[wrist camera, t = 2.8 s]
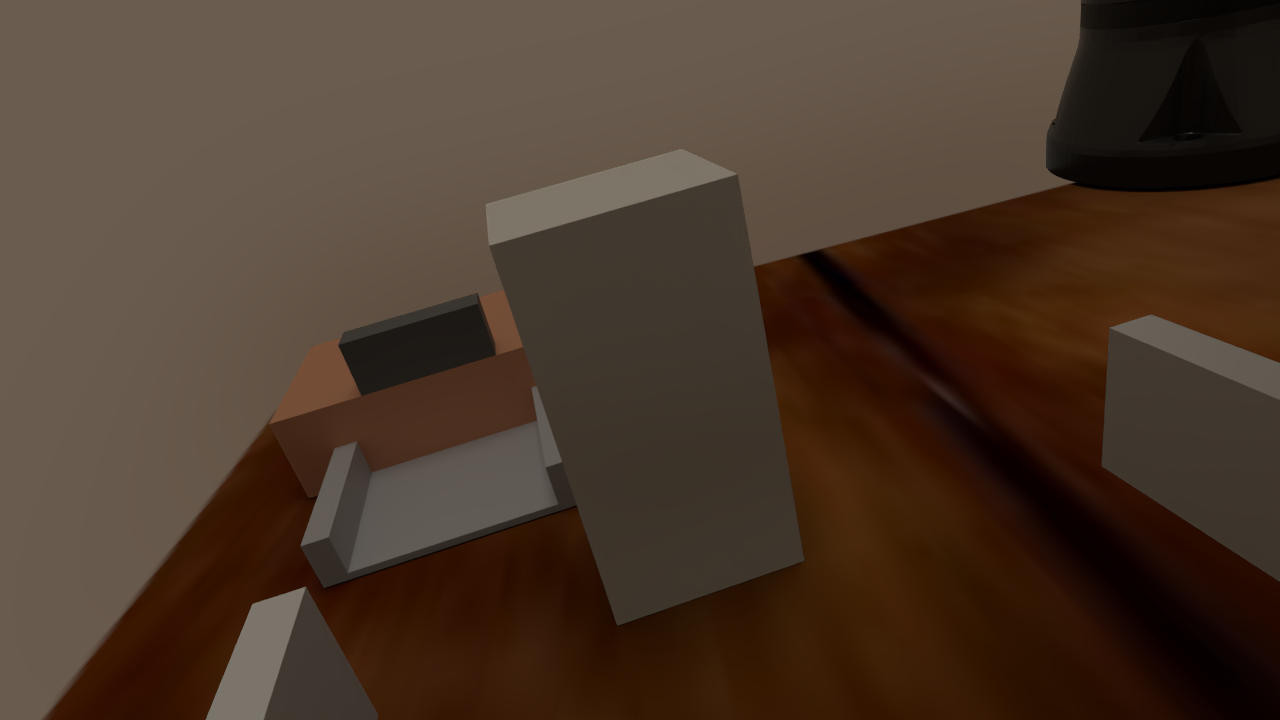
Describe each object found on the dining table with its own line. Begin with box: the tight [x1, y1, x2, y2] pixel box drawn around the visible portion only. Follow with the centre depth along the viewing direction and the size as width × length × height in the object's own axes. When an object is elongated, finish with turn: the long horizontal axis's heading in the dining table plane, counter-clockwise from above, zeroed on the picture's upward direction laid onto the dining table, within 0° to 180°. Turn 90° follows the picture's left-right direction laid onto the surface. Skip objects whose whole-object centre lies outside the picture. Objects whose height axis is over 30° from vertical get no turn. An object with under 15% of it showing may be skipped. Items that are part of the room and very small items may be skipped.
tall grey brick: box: [486, 149, 804, 626], centre depth 21 cm, size 6×5×12 cm
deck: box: [269, 290, 576, 588], centre depth 33 cm, size 22×16×7 cm
